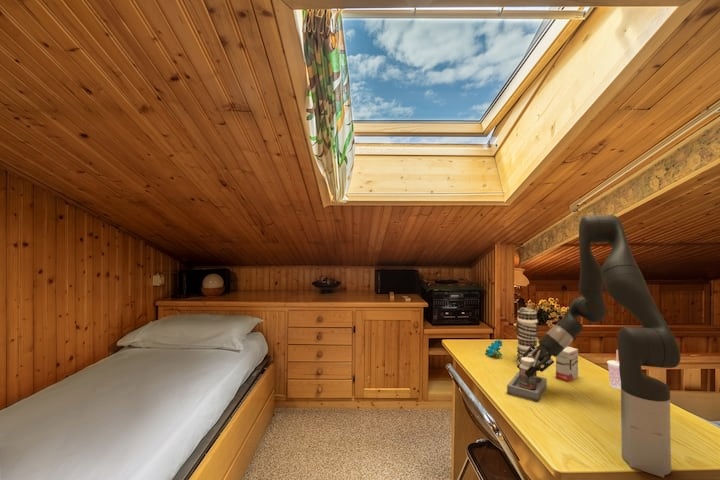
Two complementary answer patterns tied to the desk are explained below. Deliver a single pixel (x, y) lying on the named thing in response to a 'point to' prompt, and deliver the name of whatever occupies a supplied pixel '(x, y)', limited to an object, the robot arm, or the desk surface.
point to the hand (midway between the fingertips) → (522, 371)
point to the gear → (494, 349)
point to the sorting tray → (529, 394)
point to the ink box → (567, 364)
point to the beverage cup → (614, 373)
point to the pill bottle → (523, 379)
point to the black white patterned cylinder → (526, 330)
